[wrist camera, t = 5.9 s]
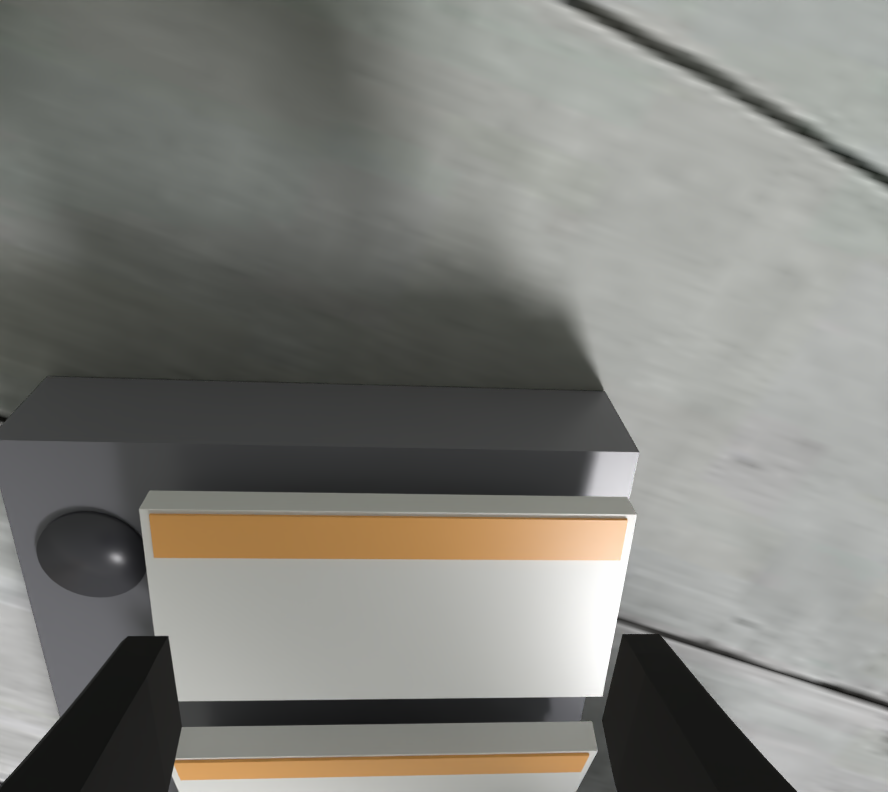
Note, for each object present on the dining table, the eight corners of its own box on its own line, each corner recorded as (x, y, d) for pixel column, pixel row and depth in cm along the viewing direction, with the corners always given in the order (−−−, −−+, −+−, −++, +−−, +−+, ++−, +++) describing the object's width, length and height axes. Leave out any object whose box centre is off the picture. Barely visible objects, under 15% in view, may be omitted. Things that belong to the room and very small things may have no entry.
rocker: (590, 662, 18) (602, 698, 17) (175, 665, 17) (162, 703, 16) (621, 487, 16) (638, 516, 15) (155, 480, 15) (137, 511, 14)
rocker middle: (553, 781, 22) (559, 825, 21) (204, 788, 21) (196, 835, 20) (588, 705, 18) (598, 753, 17) (174, 710, 17) (163, 761, 16)
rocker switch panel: (525, 817, 27) (541, 907, 25) (140, 827, 26) (111, 924, 23) (604, 391, 19) (641, 455, 16) (46, 376, 18) (-16, 443, 15)
